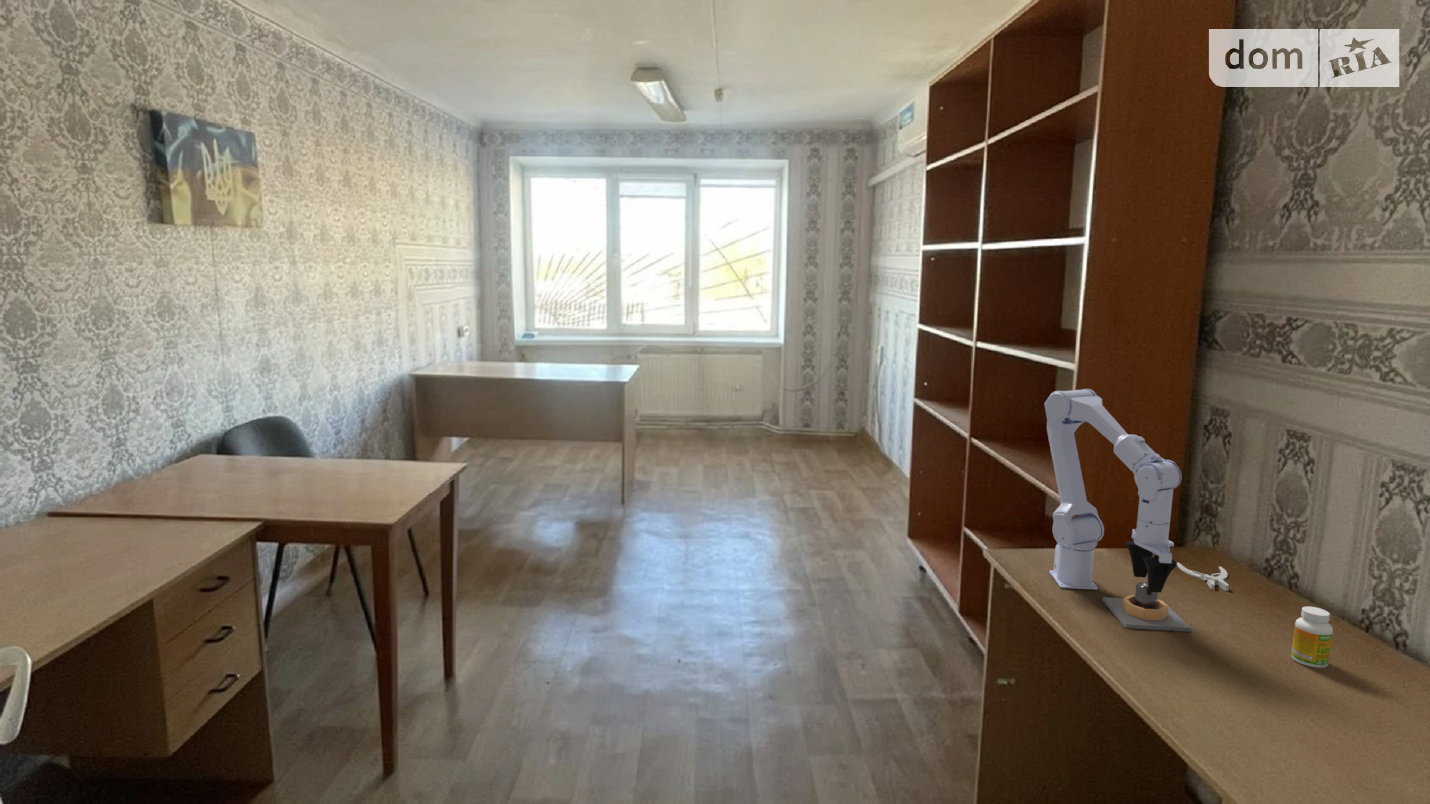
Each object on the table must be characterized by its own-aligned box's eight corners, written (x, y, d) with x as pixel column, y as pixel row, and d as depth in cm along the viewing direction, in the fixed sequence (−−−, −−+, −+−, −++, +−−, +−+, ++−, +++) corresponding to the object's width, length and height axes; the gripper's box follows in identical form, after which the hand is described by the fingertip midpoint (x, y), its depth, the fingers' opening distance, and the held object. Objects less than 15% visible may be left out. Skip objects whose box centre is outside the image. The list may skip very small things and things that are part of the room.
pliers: (1222, 563, 184) (1246, 587, 169) (1221, 569, 184) (1245, 594, 170) (1176, 558, 186) (1195, 582, 172) (1175, 565, 187) (1194, 589, 172)
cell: (1130, 607, 160) (1133, 579, 160) (1151, 608, 160) (1153, 581, 159) (1138, 615, 157) (1141, 587, 156) (1159, 616, 156) (1162, 588, 155)
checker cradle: (1102, 600, 166) (1103, 588, 165) (1162, 604, 164) (1163, 591, 163) (1125, 627, 153) (1126, 614, 152) (1190, 631, 151) (1191, 618, 151)
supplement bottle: (1318, 671, 136) (1325, 619, 135) (1284, 658, 141) (1291, 608, 139) (1334, 664, 139) (1341, 613, 137) (1300, 651, 143) (1307, 602, 142)
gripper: (1191, 533, 147) (1184, 599, 150) (1159, 510, 162) (1153, 571, 164) (1152, 531, 148) (1145, 597, 151) (1123, 508, 163) (1118, 569, 165)
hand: (1147, 583), depth 157 cm, fingers open, 7 cm apart
